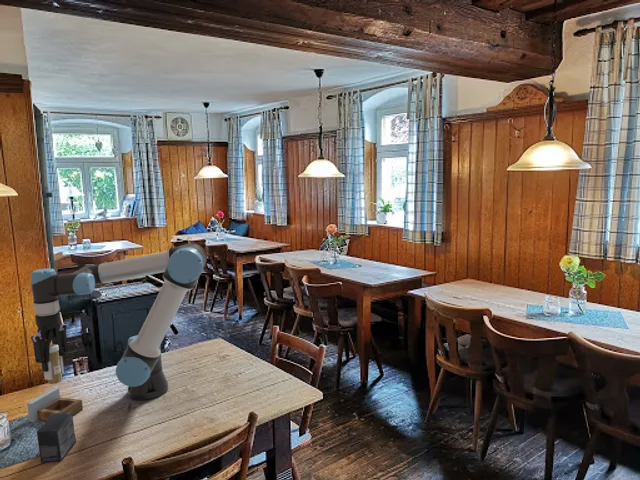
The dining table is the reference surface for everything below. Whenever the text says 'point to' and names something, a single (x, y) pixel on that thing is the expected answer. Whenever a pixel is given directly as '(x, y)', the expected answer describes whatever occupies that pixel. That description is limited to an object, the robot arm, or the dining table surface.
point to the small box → (56, 437)
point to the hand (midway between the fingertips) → (54, 376)
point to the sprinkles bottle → (55, 364)
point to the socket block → (59, 408)
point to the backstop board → (41, 403)
